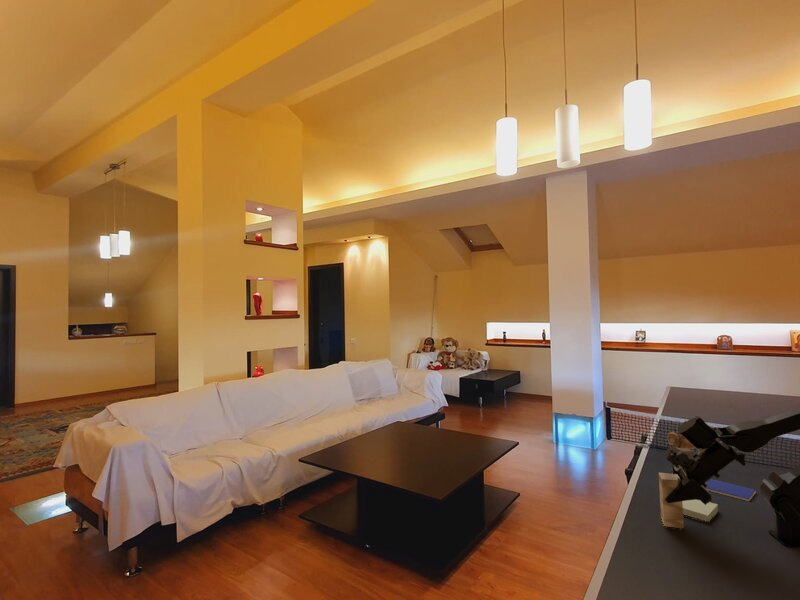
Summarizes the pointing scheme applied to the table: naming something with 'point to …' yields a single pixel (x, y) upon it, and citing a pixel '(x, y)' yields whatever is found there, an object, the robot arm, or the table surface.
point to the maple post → (670, 511)
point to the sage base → (699, 509)
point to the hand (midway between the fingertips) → (664, 497)
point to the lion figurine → (680, 442)
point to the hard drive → (730, 490)
